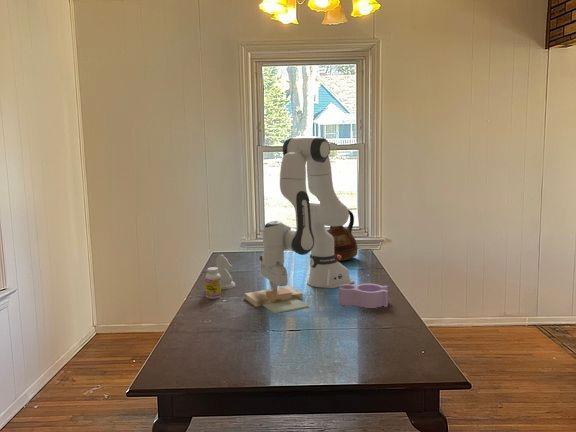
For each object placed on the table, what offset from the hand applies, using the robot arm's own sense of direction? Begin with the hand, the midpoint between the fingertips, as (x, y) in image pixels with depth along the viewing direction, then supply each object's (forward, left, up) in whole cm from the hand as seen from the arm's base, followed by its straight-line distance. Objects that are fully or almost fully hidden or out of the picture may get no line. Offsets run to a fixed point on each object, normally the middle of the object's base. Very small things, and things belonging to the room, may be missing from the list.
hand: (274, 290), depth 217 cm
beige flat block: (0, -1, -4) cm, 4 cm away
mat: (0, +11, -4) cm, 11 cm away
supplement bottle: (+22, -16, -4) cm, 27 cm away
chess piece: (+12, -29, -4) cm, 31 cm away
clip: (-30, +23, -4) cm, 38 cm away
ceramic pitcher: (-63, -45, -4) cm, 77 cm away
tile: (0, +4, -1) cm, 5 cm away
